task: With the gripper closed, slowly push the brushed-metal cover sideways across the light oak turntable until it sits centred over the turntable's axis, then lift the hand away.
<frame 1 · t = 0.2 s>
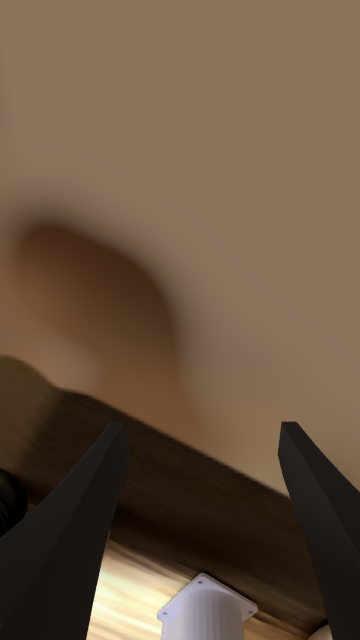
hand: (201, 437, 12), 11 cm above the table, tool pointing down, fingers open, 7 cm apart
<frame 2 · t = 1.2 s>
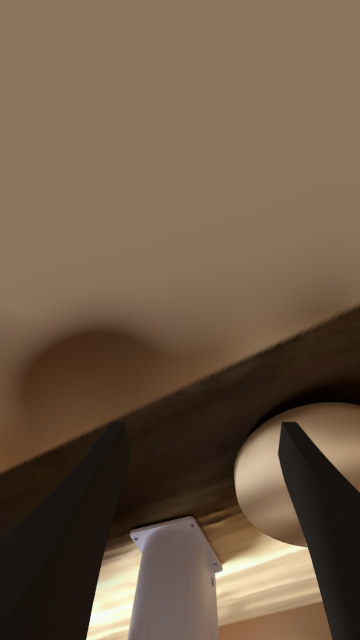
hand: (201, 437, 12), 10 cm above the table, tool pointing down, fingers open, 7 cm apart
turntable: (324, 480, 23), point 2 cm above the table, hinge at 0.0°, touching cover
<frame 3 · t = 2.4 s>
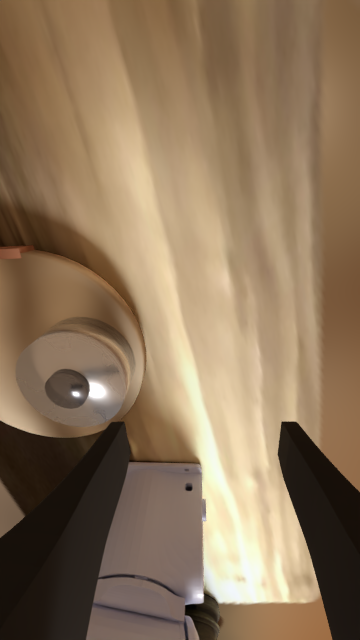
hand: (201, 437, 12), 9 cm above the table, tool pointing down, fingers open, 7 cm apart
cover: (88, 360, 19), point 2 cm above the table, touching turntable
container: (190, 601, 39), on the table
turntable: (43, 354, 20), point 2 cm above the table, hinge at 0.0°, touching cover
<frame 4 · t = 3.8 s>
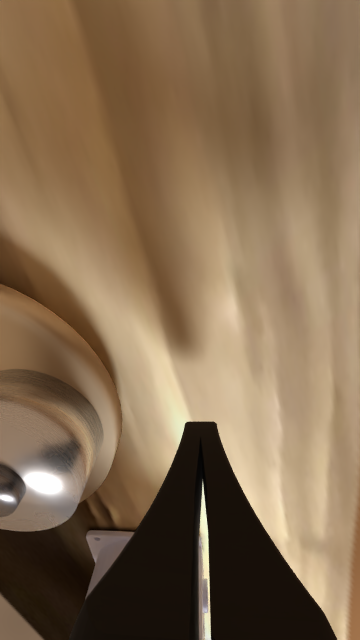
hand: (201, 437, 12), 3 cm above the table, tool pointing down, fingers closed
cover: (37, 424, 13), point 2 cm above the table, touching turntable
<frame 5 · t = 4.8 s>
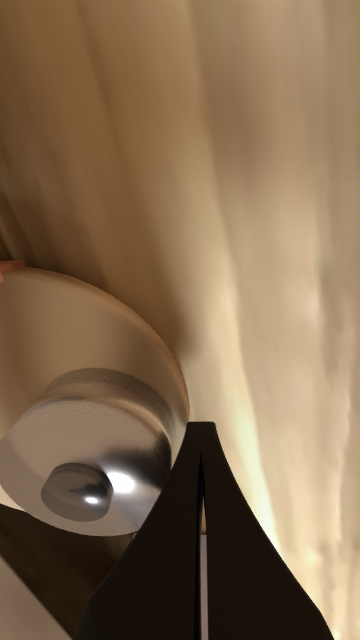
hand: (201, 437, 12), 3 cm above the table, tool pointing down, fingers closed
cover: (106, 425, 13), point 3 cm above the table, touching gripper, turntable
turntable: (42, 413, 14), point 2 cm above the table, hinge at 0.0°, touching cover
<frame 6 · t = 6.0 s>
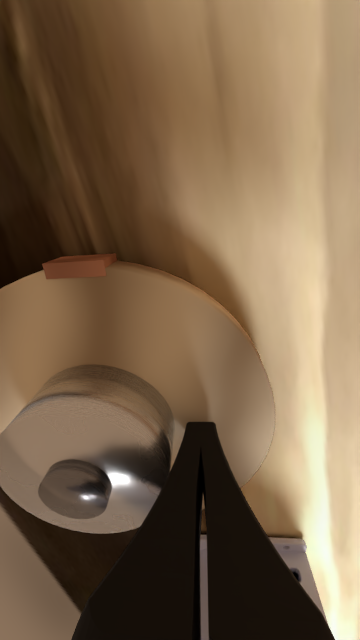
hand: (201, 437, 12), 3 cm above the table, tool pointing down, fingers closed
cover: (105, 423, 13), point 2 cm above the table, touching gripper, turntable
turntable: (115, 413, 13), point 2 cm above the table, hinge at 0.0°, touching cover
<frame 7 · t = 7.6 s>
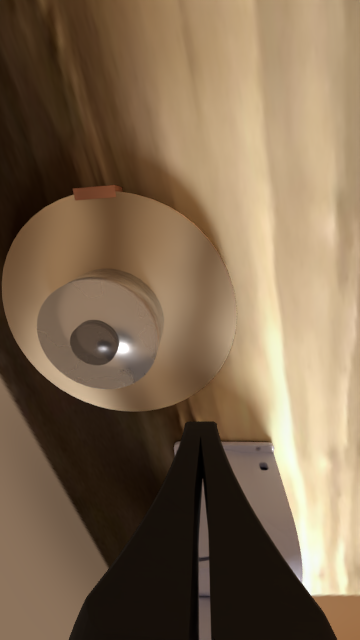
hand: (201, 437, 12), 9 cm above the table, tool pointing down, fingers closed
cover: (113, 319, 17), point 2 cm above the table, touching turntable
turntable: (121, 316, 18), point 2 cm above the table, hinge at 0.0°, touching cover
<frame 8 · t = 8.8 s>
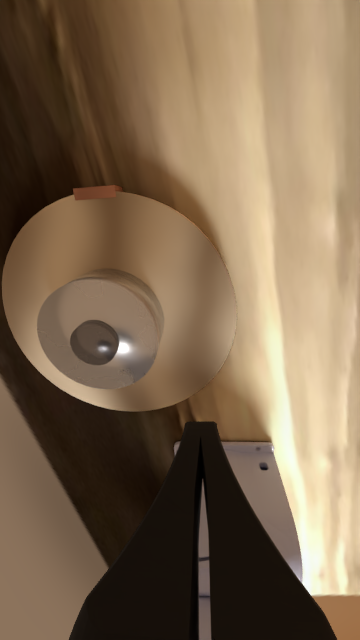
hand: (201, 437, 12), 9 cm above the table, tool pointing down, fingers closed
cover: (113, 319, 17), point 2 cm above the table, touching turntable
turntable: (121, 316, 18), point 2 cm above the table, hinge at 0.0°, touching cover
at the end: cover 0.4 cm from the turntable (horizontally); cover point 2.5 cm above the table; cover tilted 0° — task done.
